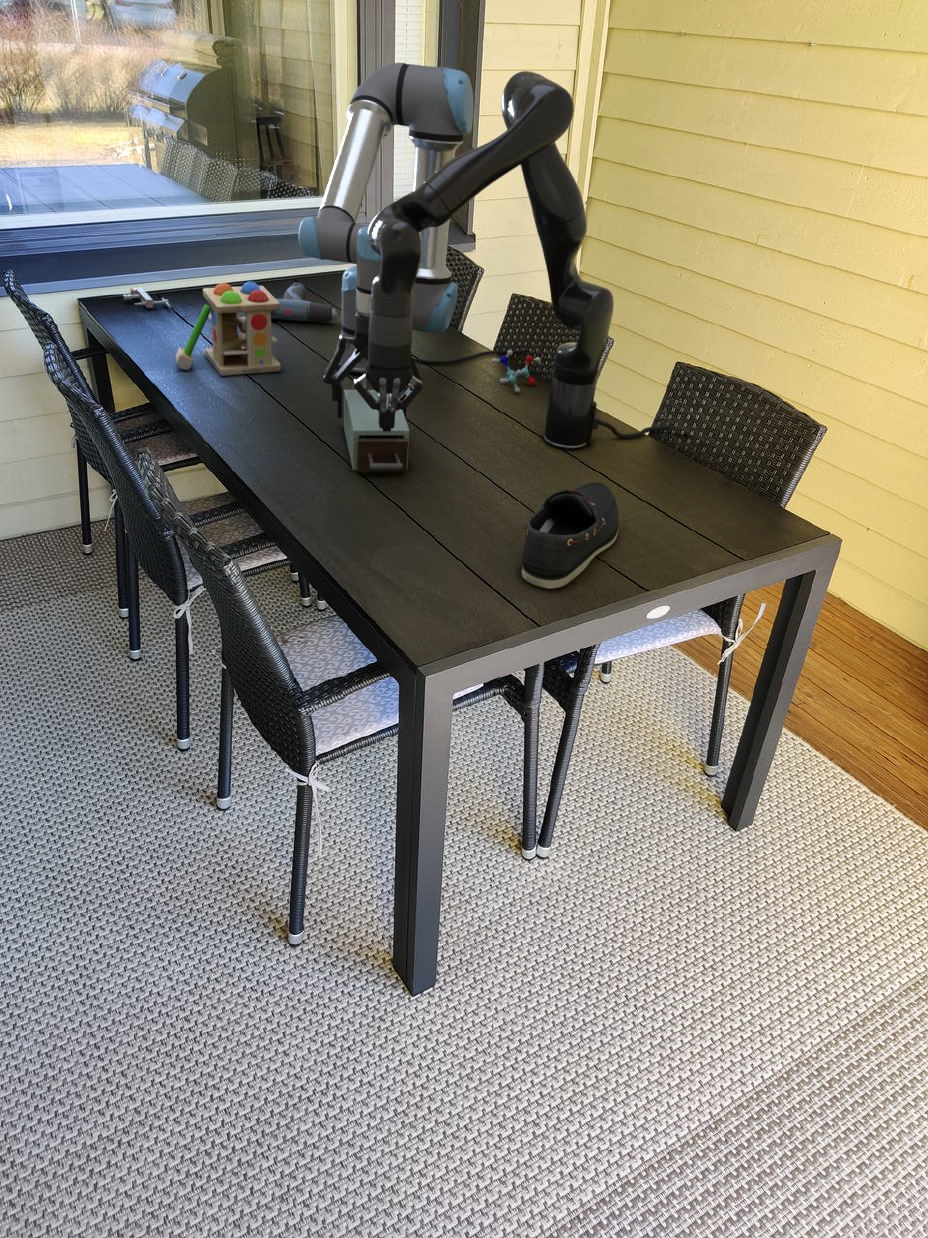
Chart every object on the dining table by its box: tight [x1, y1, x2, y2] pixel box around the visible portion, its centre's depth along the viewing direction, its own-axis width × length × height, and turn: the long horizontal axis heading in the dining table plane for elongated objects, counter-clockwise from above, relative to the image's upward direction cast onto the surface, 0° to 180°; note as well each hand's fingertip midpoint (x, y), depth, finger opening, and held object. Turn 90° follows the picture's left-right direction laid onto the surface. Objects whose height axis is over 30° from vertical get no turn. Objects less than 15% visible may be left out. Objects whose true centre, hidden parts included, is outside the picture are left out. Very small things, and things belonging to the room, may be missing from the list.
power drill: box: [271, 282, 338, 322], centre depth 265 cm, size 5×19×20 cm
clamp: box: [122, 287, 173, 309], centre depth 261 cm, size 15×2×10 cm
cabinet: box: [343, 389, 410, 471], centre depth 197 cm, size 20×11×8 cm, turn 11°
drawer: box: [356, 435, 409, 473], centre depth 192 cm, size 25×10×6 cm, turn 11°
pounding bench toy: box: [174, 281, 282, 377], centre depth 225 cm, size 23×14×18 cm, turn 116°
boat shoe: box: [520, 481, 620, 590], centre depth 170 cm, size 13×33×10 cm, turn 147°
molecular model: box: [491, 349, 541, 394], centre depth 232 cm, size 12×10×10 cm
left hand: (371, 415), depth 202 cm, fingers open, 12 cm apart
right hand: (386, 429), depth 180 cm, fingers closed
